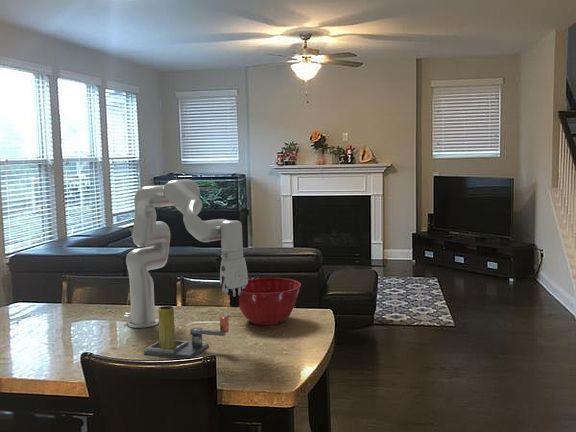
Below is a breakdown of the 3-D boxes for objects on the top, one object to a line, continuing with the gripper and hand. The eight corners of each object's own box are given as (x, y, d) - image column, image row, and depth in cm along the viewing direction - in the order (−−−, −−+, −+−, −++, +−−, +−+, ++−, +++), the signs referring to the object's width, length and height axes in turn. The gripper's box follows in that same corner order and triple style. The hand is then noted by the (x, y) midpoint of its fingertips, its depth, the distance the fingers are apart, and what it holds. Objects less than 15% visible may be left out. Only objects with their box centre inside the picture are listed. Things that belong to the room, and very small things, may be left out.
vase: (160, 344, 216) (158, 305, 215) (177, 344, 217) (175, 305, 216) (157, 350, 210) (156, 310, 209) (175, 349, 211) (173, 309, 210)
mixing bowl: (296, 331, 234) (295, 292, 233) (225, 329, 239) (223, 291, 237) (305, 313, 262) (305, 278, 260) (242, 311, 266) (241, 277, 265)
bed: (143, 354, 210) (143, 339, 210) (164, 342, 223) (164, 328, 223) (189, 358, 204) (189, 343, 204) (208, 346, 217) (208, 332, 217)
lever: (188, 334, 214) (187, 316, 213) (194, 331, 218) (193, 313, 217) (225, 337, 209) (225, 319, 208) (231, 334, 213) (230, 316, 212)
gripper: (224, 259, 204) (227, 312, 206) (254, 253, 216) (256, 303, 217) (209, 257, 209) (212, 309, 211) (239, 252, 221) (241, 301, 222)
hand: (234, 306), depth 214 cm, fingers closed
